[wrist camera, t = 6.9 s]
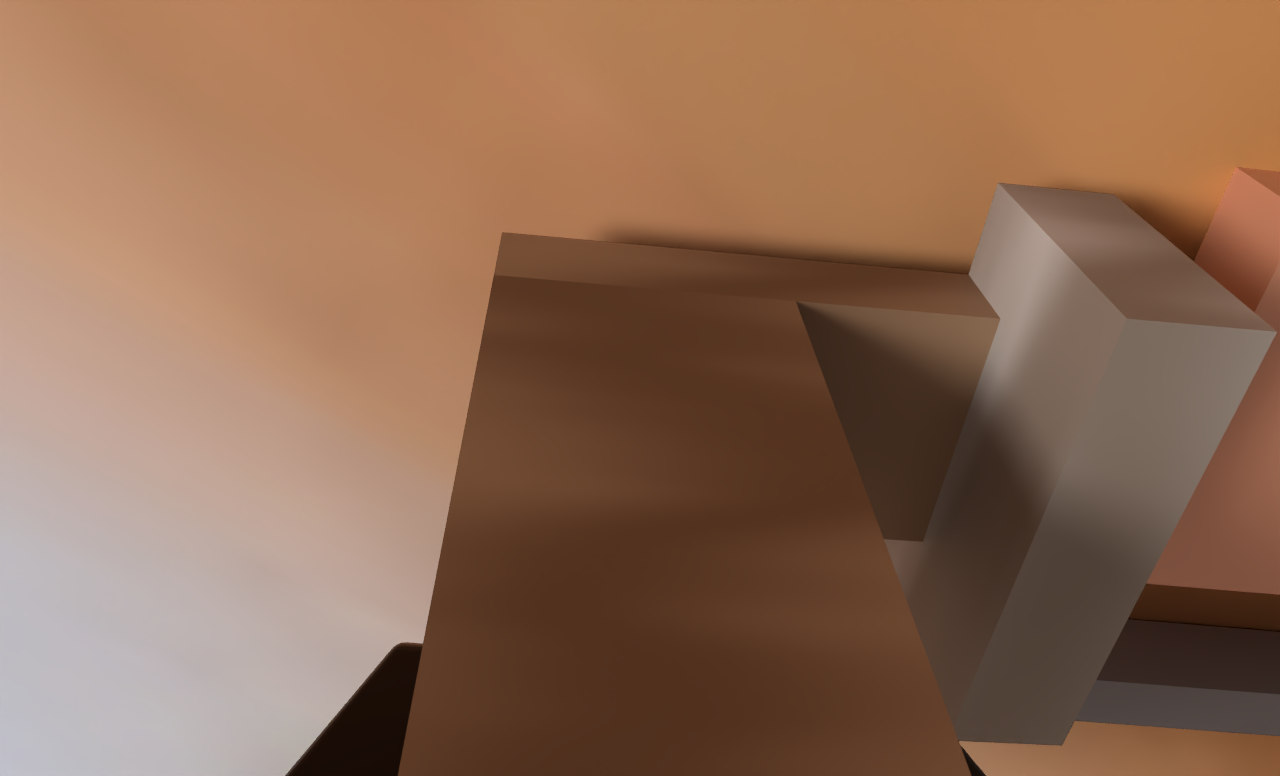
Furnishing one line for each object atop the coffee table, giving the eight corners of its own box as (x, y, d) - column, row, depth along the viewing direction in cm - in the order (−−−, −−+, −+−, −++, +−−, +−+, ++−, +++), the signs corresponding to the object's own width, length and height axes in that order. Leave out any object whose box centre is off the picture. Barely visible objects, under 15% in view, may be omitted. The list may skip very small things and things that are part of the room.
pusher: (1114, 193, 12) (1942, 890, 5) (973, 557, 16) (1335, 1323, 8) (506, 133, 12) (342, 840, 4) (488, 527, 15) (378, 1337, 7)
